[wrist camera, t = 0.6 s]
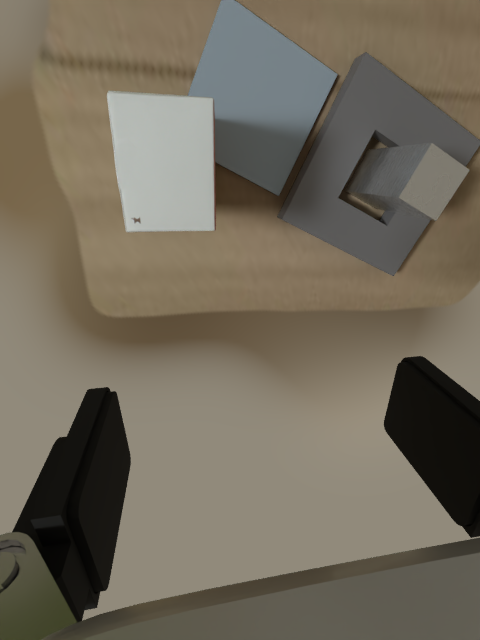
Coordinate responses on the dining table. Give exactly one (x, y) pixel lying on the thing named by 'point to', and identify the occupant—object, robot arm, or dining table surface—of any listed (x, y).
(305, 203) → the socket block
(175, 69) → the dining table surface
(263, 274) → the dining table surface
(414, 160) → the steel plug
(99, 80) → the dining table surface
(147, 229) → the small box
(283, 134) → the blue pad
